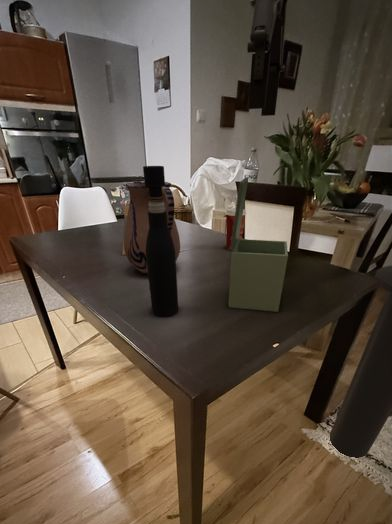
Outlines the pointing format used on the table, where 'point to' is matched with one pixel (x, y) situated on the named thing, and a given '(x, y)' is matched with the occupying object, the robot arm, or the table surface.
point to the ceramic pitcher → (145, 223)
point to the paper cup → (230, 223)
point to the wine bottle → (160, 248)
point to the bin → (257, 274)
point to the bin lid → (239, 212)
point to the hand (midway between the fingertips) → (262, 112)
